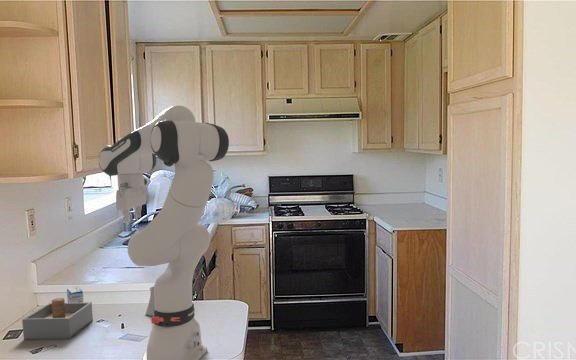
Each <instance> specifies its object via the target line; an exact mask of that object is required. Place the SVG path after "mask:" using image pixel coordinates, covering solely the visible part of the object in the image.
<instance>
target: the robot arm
mask: <svg viewBox="0 0 576 360" xmlns="http://www.w3.org/2000/svg"><path fill="white" fill-rule="evenodd" d="M229 146H230V138H229V135H228V133H227V131H226V130H225V129H224V128H223V127H221V126H219V125H216V124H214V123H210V122H197V120H196V118H195V115H194V114H193V112H192V111H191V109H189V108H188V107H186V106H184V105H179V104H178V105H173V106H170V107H168V108H166V109H164V110H163V111H162V112H160V113H159V114H158V115H157V116H156V117H155V118H154V119H152V120H151V121H150V122H148V123H146V124H145V125H143V126H142V127H141V126H140V127H139V128H138V129H135V130H133V131H131V132H129V133H128V134H126V135H124V136H123V137H120V138H119V139H118V140H117V142H115V143H114V144H112V145H106V146H104V148H103V149H101V151H100V152H99V155H98V165H99V168H100V170H101V171H102V172H103V173H105V174H106V175H107V176H109V177H112V176H113V177H114V176H117V187H118V189H117V190H116V194H115V206H116V207H115V208H116V210H117V211H120V212H121V211H122V215H123V217H124V223H130V222H132V216H131V215H130V211H131V210H132V209H135V213H134V218H135V219H140V218H141V217H142V214H141V213H142V208H143V207H142V206H144V205H146V204H147V201H148V200H147V199H148V198H147V197H148V191H147V190H148V189H147V185H148V178H146V177H145V176H144V174H146V173H149V172H152V171H153V170H154V169H155V167H156V165H157V158H158V159H159V160H161V161H163V164H164V166H165V167H166V166H167V167H168V168H169V167H172V166H174V170H175V171H174V175H173V179H172V181H171V184H170V186H169V189H168V192H167V194H166V197H165V201H164V203H163V205H162V207H161V208H160V210H159V212H158V213H157V214H156V215H155V216H154V218H153V219H152V220H151V221H150V222H149V223H148V224H147V225H146V226H144V227H143V228H142V229H140V230H139V231H136V233H135V232H134V233H133V234H132V235H131V237H130V238H129V240H128V243H127V253H128V257H129V259H130V260H131V262H132V264H134V265H136V266H138V267H156V266H161V265H166V264H168V265H167V267H166V269H165V270H164V272H163V273H162V274H161V275H159V277H157V279H156V280H155V281H154V285H153V287H154V295H155V308H154V313H153V316H151V319H150V320H151V321H150V322H151V330H150V333H149V338H148V341H147V344H146V345H147V346H146V349H145V351H144V354H143V356H142V359H141V360H201V358H202V357H203V356H204V355H205V354H206V353H207V352H208V348H207V346H206V345H204V344H202V343H203V341H202V333H201V324H200V323H199V321H197V320H196V318H195V315H196V314H195V311H196V310H195V309H196V308H195V305H194V303H193V278H194V273H195V271H196V268H197V265H198V263H199V261H200V259H201V258H202V257H203V255H204V254H205V253H206V252H207V251H208V249H209V247H210V245H211V235H210V232H209V230H208V228H207V227H206V226H205V225H204V224H202V223H199V222H200V221H201V219H202V216H203V214H204V211H205V208H206V206H207V203H208V200H209V198H210V195H211V191H212V187H213V183H214V178H215V177H214V176H215V173H214V169H213V167H212V166H211V164H209V162H214V161H215V162H216V161H219V160H222V159H223V158H225V156H226V155H227V153H228V151H229ZM208 161H209V162H208Z"/></svg>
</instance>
